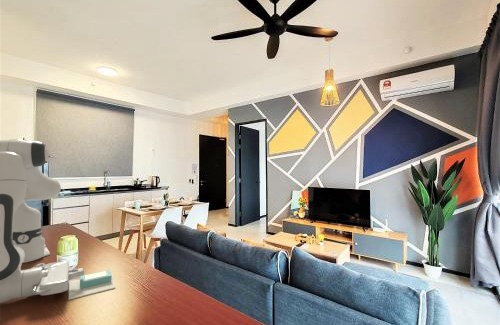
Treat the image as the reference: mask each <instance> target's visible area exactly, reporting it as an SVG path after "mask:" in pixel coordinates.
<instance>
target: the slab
mask: <svg viewBox="0 0 500 325" xmlns="http://www.w3.org/2000/svg"><path fill="white" fill-rule="evenodd" d="M112 278H113V276H112V272H111V270H110V269H108V270H103V271H98V272H93V273H87V274H84V275H83V276H79V279H80V289H83V288H87V287H91V286H96V285H100V284H104V283H108V282H111V279H112Z"/></svg>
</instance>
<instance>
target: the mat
mask: <svg viewBox="0 0 500 325" xmlns="http://www.w3.org/2000/svg"><path fill="white" fill-rule="evenodd" d="M114 289H116V286H115V282H114V278H113V277H112V279H111V282H108V283H104V284H100V285H96V286H91V287H87V288H83V289H80V278H76V279H72V280H68V301H70V300H74V299H78V298H81V297H82V298H83V297H86V296H90V295H95V294H99V293H102V292H106V291H110V290H114Z"/></svg>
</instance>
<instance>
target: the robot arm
mask: <svg viewBox="0 0 500 325" xmlns="http://www.w3.org/2000/svg"><path fill="white" fill-rule="evenodd" d="M49 157H50V153H49V149H48V147H47V145H46V143H43V142H42V141H37V140H25V139H21V138H11V139H6V140H5V139H3V140H2V139H0V304H1V303H2V304H3V303H5V302H8V301H10V300H14V299H23V298H24V299H25V298H29V297H33V296H37V295H40V296H49V295H54V294H60V293H64V292H66V291H68V290H69V281H72V280H75V279H77V278H78V277H80V276H83V275H85V269H84V267H82V268H81V267H80V268H70V261H66V260H64V261H57V262H56V261H55V262H49V263H47V264H45V263H43V262H42V263H38V264H36V265H34V266H33V267H30V268H28V269H27V268H26V269H21V268H22V265H23V264H24V263H29V262H33V261H36V260H39V259H41V258H43V257H46V256H49V255H51V253H50V250H49V249H48V247H47V245H46V239H45V237H43V236H42V234H43V233H42V232H43V228H42V227H41V226H42V213H41V211H40V209H37V208H36V207H35V208H34V207H32V206H29V205H28V204H27V203H26V202H27V201H28V202H29V201H46V200H50V199H55V198H57V197H58V195H59V194H60V193H61V190H62V186H61V184H60V182H59V180H57V179H56V178H52V177H49V176H47V175H45V173H43V172H42V171H41V170H40V168H39V167H42V166H44V165H45V164H47V161H48V160H49Z"/></svg>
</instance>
